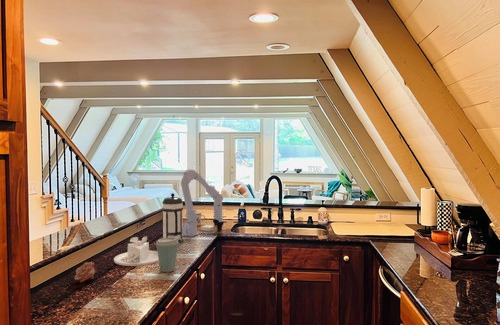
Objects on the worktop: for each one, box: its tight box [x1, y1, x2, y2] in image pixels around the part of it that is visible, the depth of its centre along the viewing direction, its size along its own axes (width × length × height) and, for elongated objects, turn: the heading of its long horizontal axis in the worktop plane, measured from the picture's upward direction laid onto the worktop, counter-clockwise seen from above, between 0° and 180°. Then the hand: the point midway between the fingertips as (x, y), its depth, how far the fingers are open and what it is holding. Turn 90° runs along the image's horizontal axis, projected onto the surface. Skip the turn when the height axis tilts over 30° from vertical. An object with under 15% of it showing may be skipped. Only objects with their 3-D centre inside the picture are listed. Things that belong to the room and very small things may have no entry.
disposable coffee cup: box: [155, 237, 180, 273], centre depth 177 cm, size 11×11×15 cm
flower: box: [73, 261, 97, 284], centre depth 163 cm, size 10×9×8 cm
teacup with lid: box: [194, 208, 206, 227], centre depth 285 cm, size 12×9×12 cm
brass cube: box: [213, 225, 223, 235], centre depth 257 cm, size 5×5×5 cm
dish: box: [113, 235, 159, 267], centre depth 196 cm, size 25×25×11 cm
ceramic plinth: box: [200, 224, 214, 232], centre depth 266 cm, size 8×8×3 cm
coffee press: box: [161, 193, 184, 243], centre depth 232 cm, size 17×16×30 cm
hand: (218, 230), depth 257 cm, fingers open, 7 cm apart
